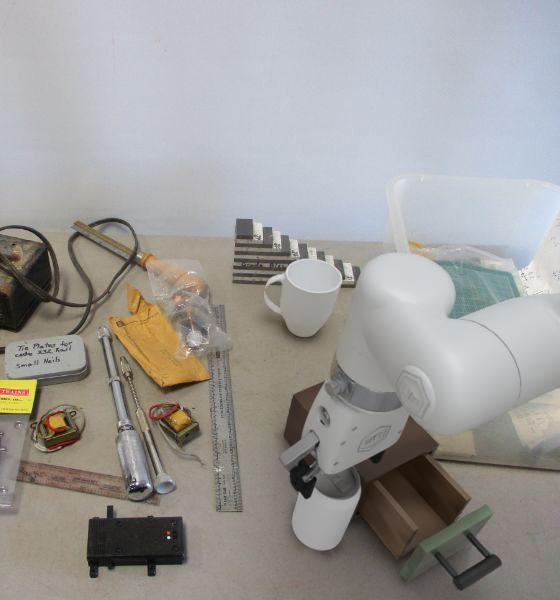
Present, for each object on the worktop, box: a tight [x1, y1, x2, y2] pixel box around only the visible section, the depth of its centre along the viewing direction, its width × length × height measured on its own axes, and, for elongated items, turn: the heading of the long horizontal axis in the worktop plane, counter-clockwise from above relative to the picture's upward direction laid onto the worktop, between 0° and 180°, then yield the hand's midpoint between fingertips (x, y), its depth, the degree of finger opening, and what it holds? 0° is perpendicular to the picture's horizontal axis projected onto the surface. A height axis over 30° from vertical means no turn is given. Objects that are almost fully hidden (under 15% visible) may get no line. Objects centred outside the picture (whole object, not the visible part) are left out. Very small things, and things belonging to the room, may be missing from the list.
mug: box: [263, 258, 343, 338], centre depth 98 cm, size 12×9×12 cm
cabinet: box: [282, 379, 440, 522], centre depth 79 cm, size 15×12×10 cm
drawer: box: [358, 453, 503, 591], centre depth 71 cm, size 18×10×8 cm, turn 27°
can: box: [291, 461, 361, 551], centre depth 71 cm, size 6×6×12 cm
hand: (334, 470), depth 67 cm, fingers open, 9 cm apart
